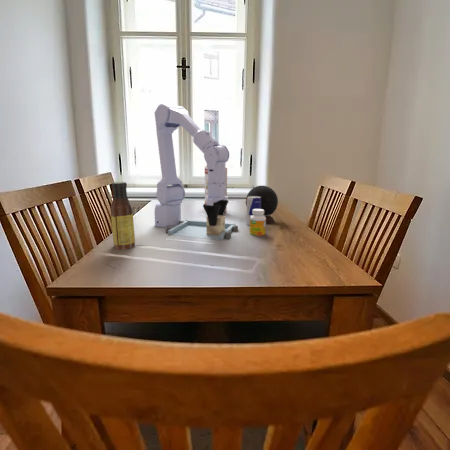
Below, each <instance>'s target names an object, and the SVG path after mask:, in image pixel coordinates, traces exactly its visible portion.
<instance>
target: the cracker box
mask: <svg viewBox="0 0 450 450" xmlns="http://www.w3.org/2000/svg"><path fill="white" fill-rule="evenodd" d="M207 196H208V168H207V165H204V204H207ZM225 196H228V168H227V167H225ZM224 200H228V199H224ZM227 206H228V205H227ZM227 206H226V208H225V212H224V213H227V211H228V210H227V209H228V208H227Z"/></svg>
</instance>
